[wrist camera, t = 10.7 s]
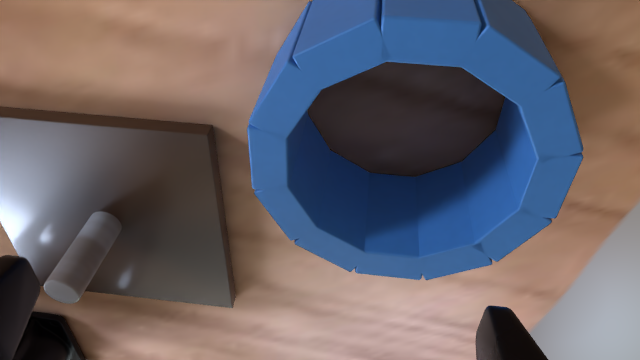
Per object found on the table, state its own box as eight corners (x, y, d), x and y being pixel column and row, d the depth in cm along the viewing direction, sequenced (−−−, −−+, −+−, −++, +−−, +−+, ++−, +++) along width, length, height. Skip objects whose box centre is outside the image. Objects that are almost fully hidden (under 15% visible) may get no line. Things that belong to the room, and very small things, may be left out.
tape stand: (236, 297, 29) (210, 380, 25) (41, 274, 30) (-13, 352, 26) (212, 124, 21) (171, 205, 17) (-47, 102, 22) (-144, 173, 18)
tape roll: (502, 206, 22) (523, 291, 19) (279, 185, 23) (257, 263, 20) (583, -28, 16) (640, 33, 12) (271, -46, 17) (235, 5, 13)
